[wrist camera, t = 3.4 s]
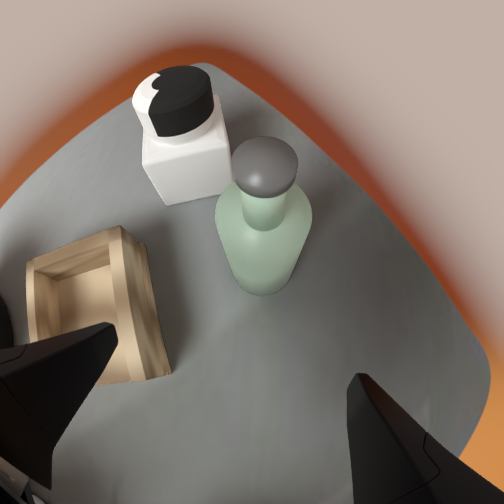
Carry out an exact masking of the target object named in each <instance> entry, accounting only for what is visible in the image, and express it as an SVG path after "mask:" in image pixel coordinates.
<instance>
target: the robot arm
mask: <svg viewBox="0 0 504 504" xmlns="http://www.w3.org/2000/svg"><path fill="white" fill-rule="evenodd" d="M117 345H118V336H117V332H116V328H115V325H114V324H112V323H109V322H102V323H98V324H95V325H91V326H88V327H85V328H81V329H78V330H74V331H71V332H68V333H64V334H61V335H57V336H54V337H50V338H47V339H43V340H40V341H36V342H32V343H29V344H24V345H20V346H16V347H12V348H8V349H3V350H0V504H35V502H34V499H33V496H32V493H31V489H30V486H29V483H28V481H29V480H30V478H31V479H32V480H34V481H35V482H37V483H39V484H40V485H42V486H44V487H45V488H47V489H49V490H51V488H52V454H53V450H54V447H55V446H56V444H57V442H58V441H59V439H60V437H61V436H62V434H63V433H64V431H65V429H66V428H67V426H68V425H69V423H70V421H71V420H72V418H73V417H74V415H75V414H76V412H77V411H78V409H79V407H80V406H81V404H82V403H83V401H84V400H85V398H86V397H87V395H88V394H89V392H90V391H91V389H92V388H93V386H94V385H95V383H96V382H97V381H98V379H99V378H100V376H101V375H102V373H103V372H104V370H105V368H106V366H107V364H108V362H109V360H110V359H111V357H112V355H113V353H114V351H115V349H116V347H117ZM347 431H348V439H349V449H350V459H351V469H352V482H353V497H354V504H504V492H503V491H501V490H500V489H498V488H497V487H496V486H494V485H493V484H492V483H490V482H489V481H487V480H486V479H485V478H483V477H482V476H481V475H479V474H478V473H477V472H475V471H474V470H473V469H471V468H470V467H468V466H467V465H466V464H465V463H463V462H462V461H461V460H459V459H458V458H457V457H456V456H454V455H453V454H452V453H450V452H449V451H448V450H447V449H446V448H444V447H443V446H442V445H441V444H440V443H439V442H438V441H436V440H435V439H434V438H433V437H432V436H431V435H430V434H429V433H428V432H426V431H425V430H424V429H423V428H422V427H421V426H420V425H419V424H418V423H417V422H416V421H415V420H414V419H413V418H412V417H411V416H410V415H409V414H408V413H407V412H406V411H405V410H404V409H403V408H402V407H401V406H400V405H399V404H398V403H396V402H395V401H394V400H393V399H392V398H391V397H390V396H389V395H388V394H387V393H386V392H385V391H384V390H383V389H382V388H381V387H380V386H379V385H378V384H377V383H376V382H375V381H374V380H373V379H372V378H371V377H370V376H369V375H368V374H366V373H356V374H355V376H354V377H353V379H352V381H351V382H350V384H349V386H348V389H347Z"/></svg>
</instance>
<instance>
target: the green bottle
mask: <svg viewBox="0 0 504 504" xmlns="http://www.w3.org/2000/svg"><path fill="white" fill-rule="evenodd" d="M231 162H232V170H233V177H234V180H235V181H234V182H233V183H231V184H230V185H229V186H228V187H227V188H226V189H225V190H224V191H223V193H222V194H221V196H220V197H219V200H218V202H217V205H216V209H215V222H216V227H217V230H218V233H219V236H220V238H221V241H222V244H223V247H224V250H225V253H226V256H227V258H228V261H229V264H230V267H231V270H232V272H233V275H234V278H235V280H236V282H237V283H238V285H239V286H240V287H241V288H242V289H244V290H245V291H247V292H249V293H251V294H254V295H259V296H265V295H271V294H273V293H276V292H278V291H279V290H281V289H282V288H283V287H284V286H285V285H286V284H287V282H288V280H289V278H290V276H291V274H292V271H293V269H294V267H295V264H296V262H297V260H298V257H299V255H300V252H301V250H302V248H303V245H304V243H305V240H306V238H307V235H308V233H309V230H310V227H311V223H312V210H311V206H310V203H309V200H308V198H307V196H306V195H305V193H304V192H303V191H302V190H301V188H300V187H299V186H297V185H296V184H295V183H294V181H295V178H296V172H297V167H298V159H297V155H296V153H295V151H294V150H293V148H292V147H291V146H290V145H288V144H287V143H286V142H284V141H282V140H280V139H277V138H273V137H266V136H262V137H255V138H251V139H249V140H246V141H244V142H243V143H241V144H240V145H239V146H238V147H237V148H236V150H235V151H234V153H233V155H232V161H231Z"/></svg>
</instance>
